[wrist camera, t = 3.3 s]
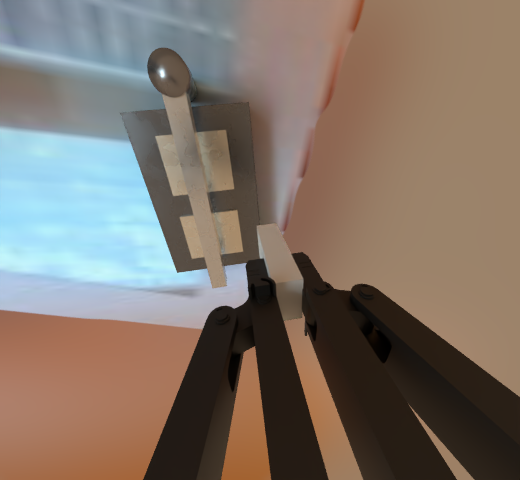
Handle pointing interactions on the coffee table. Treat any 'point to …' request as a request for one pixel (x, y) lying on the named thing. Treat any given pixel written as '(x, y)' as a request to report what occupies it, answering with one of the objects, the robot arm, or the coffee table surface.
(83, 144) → the coffee table surface
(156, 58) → the ball-tipped flat stick
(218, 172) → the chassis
